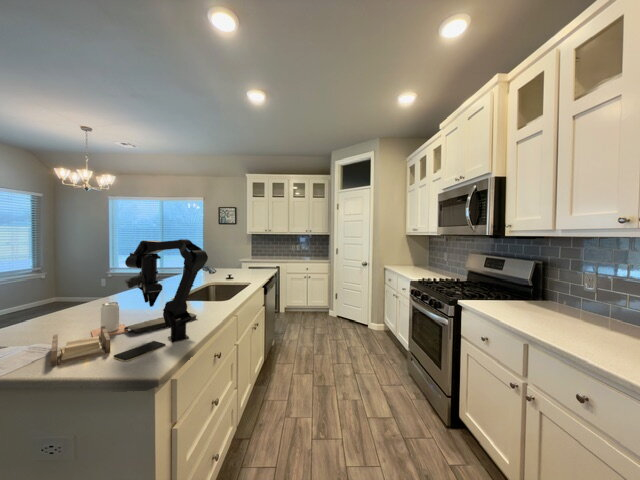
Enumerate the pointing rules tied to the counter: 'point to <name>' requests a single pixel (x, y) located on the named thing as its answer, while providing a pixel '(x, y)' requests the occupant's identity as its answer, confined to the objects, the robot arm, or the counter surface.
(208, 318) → the counter surface
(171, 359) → the counter surface
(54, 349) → the rack
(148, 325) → the stone slab
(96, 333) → the tile
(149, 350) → the smartphone
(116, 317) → the can
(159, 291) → the robot arm
